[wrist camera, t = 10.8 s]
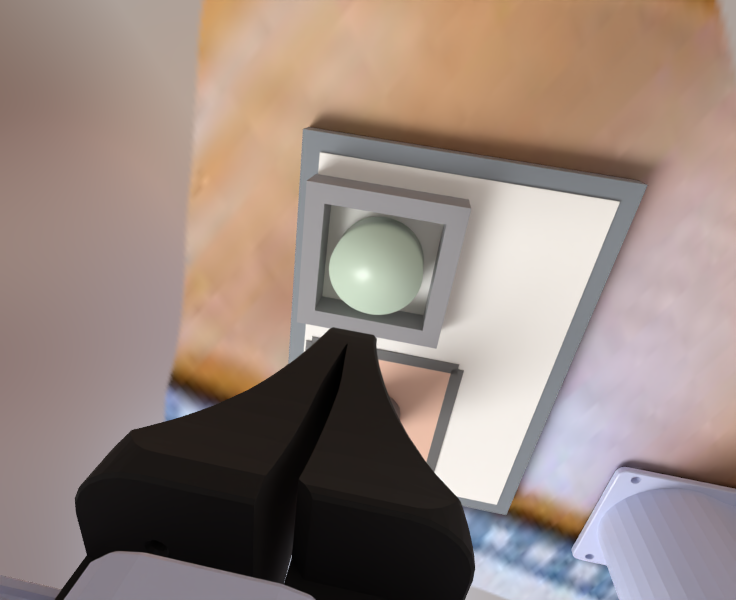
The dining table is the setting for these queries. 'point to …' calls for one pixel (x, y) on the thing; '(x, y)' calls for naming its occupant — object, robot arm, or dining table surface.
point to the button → (377, 266)
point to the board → (464, 290)
